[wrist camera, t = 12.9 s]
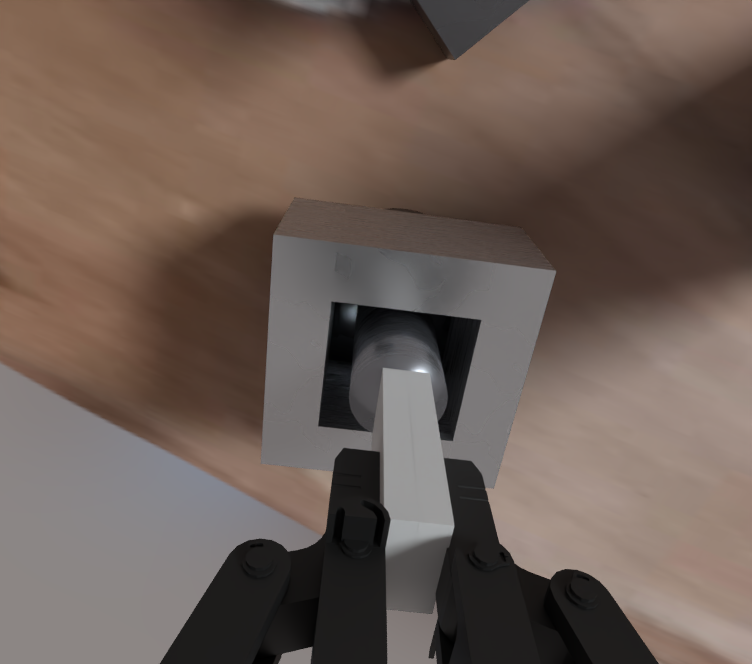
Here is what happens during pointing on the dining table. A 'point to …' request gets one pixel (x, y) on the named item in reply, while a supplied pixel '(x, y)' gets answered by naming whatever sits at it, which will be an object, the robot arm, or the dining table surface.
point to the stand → (463, 21)
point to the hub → (387, 350)
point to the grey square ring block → (403, 292)
